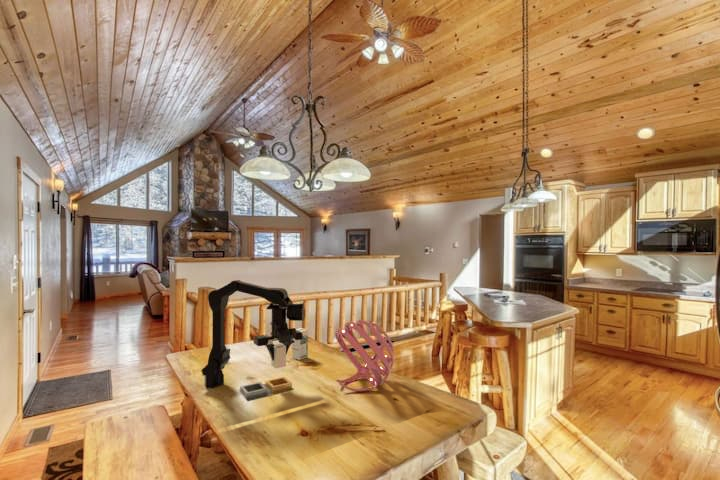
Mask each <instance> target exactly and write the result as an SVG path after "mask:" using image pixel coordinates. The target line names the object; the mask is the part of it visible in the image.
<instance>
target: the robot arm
mask: <svg viewBox="0 0 720 480" xmlns="http://www.w3.org/2000/svg"><path fill="white" fill-rule="evenodd" d="M287 291H288V290H287V289H285V288H280V287H265V286H261V285H257V284H253V283H249V282H245V281H241V279H236V280H232V281H230V282H229V283H228V284H226V285H224V286H222V287H220V288H217V289H214V290H211V291H210V292H209V293H208V295H207V299H208V301H207V302H208V305H209V308H210V310H211V312H212V314H211V315H212V319H211V320H212V321H211V322H212V326H211V327H212V329H211V330H212V338H211V339H212V341H211V343H212V345H211V346H212V347H211V349H210V353H209V354H208V359H207V364H206V365H205V366H204V367H203V368H202V369H201V374H202V376H204V387H205V388H206V389H207V388H217V387H220V386H222V385H224V383H225V374H224V373H223V369H224V368H225V366H226V365H227V364H229V361H230V359H231V356H230V355H231V349H230V348H227V347H226V342H225V341H226V330H225V329H226V309H227V307H228V304H229V299H230V296H232V295H234V294H235V293H236V292H238V293H239V292H240V293H244V294H247V295H252V296H255V297H259V298H262V299H264V300H266V301H267V302H270V303H269V305H268V306H266V310H271V321H270V326H271V332H270V336H266V335H264V334H261V335H255V336H254V337H253V344H254V345H256V346H257V347H263V346H265V347H266V349H267V351H268V354H269V356H270V359H272V360H273V361H274V345H275V344H274V343H273V342H275V341H278V344H283V345H285V346H286V355H287V354H288V351H289V349H290V347H291V345H292V343H294V342H295V341H294V340H293V338H294V339H295V340H301V339H303V334H302V333H301V332H300V331H298V330H296V328H295V327H294V328H289V327H288V323H287V319H288V321H293V322H295V321H298V322H303V321H305V319H306V309H305V304H304V303H303V302H302V303H301V302H300V303H294V302H293V301H292V300H291V298H290V297H289V294H288V292H287Z"/></svg>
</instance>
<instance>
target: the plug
mask: <svg viewBox="0 0 720 480" xmlns="http://www.w3.org/2000/svg"><path fill="white" fill-rule="evenodd" d="M270 359H271V358H270ZM270 362H271V367H272V368H274V369H280V368H284V367H286V366H287V354H286V346H285V345H283V343H278V344H274V361H273V360H272V359H271V361H270Z"/></svg>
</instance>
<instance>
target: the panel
mask: <svg viewBox="0 0 720 480" xmlns="http://www.w3.org/2000/svg"><path fill="white" fill-rule="evenodd" d="M238 391H239V392H240V394H241V395H242V396H243V397H244V399H245V400H246V401H247V402H250V401H255V400H258V399H263V398H266V397H270V396H274V395H275V396H276V395H279V394H282V393H283V394H284V393H287V392H290V391H291V392H292V391H294V388H293V382H292V381H290V380H289V379H287V377H285V376H281V377H277V378H272V379H267V380H265V383H262V382H261V381H259V382H254V383H249V384H246V385H242V386H239V389H238Z"/></svg>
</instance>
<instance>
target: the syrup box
mask: <svg viewBox="0 0 720 480" xmlns="http://www.w3.org/2000/svg"><path fill="white" fill-rule="evenodd" d="M295 329H296V328H295ZM296 330H298V331H300V332H301V333H302V334H303V339H301V340H295V339H294V338H293V340H294V341H295V342H294V343H292V344H291V345H292V346H291V350H292V351H291V352H292V355H291V357H292V359H293V360H298V361H301V360H303V359H306V358H308V357H309V354H308V352H309V351H308V350H309V349H308V347H309V346H308V342H309V341H308V339H309V338H308V329H307V328H303V327H302V328H301V327H300V328H297V329H296Z"/></svg>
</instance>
